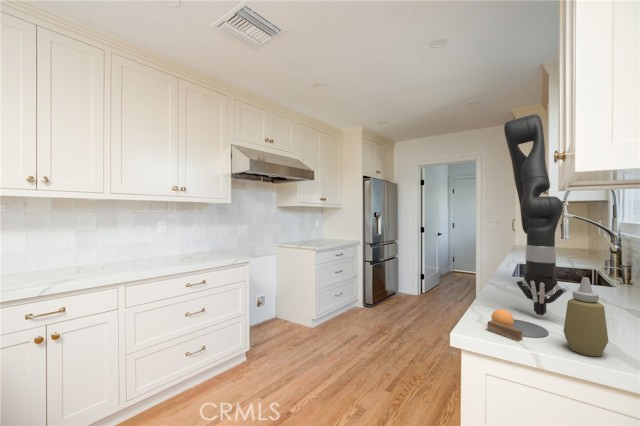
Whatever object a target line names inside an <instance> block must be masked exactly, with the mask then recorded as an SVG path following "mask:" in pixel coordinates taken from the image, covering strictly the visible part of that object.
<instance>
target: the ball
mask: <svg viewBox="0 0 640 426" xmlns="http://www.w3.org/2000/svg"><path fill="white" fill-rule="evenodd" d="M491 320H492V321H495V322H498V323H501V324H504V325H507V326H511V327H512V326H513V324H514V316H513V314H511V313H510V312H509V311H508V310H506V309H503V308H499V309H495V310H494V311H493V312H492V314H491Z"/></svg>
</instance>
